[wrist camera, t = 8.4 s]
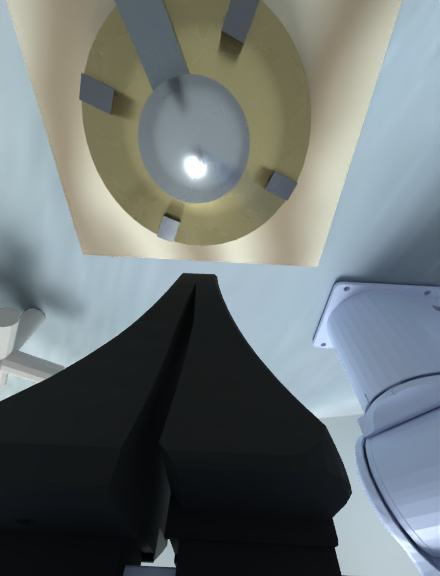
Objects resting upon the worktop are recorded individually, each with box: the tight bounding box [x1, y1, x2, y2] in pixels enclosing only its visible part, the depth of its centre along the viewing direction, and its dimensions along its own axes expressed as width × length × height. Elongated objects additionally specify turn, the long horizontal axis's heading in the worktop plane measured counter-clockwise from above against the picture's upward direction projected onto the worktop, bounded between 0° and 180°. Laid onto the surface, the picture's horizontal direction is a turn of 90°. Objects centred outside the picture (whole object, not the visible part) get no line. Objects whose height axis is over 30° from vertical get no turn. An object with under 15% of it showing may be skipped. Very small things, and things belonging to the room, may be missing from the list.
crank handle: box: [79, 0, 311, 246], centre depth 10 cm, size 16×11×8 cm
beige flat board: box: [6, 0, 402, 267], centre depth 15 cm, size 18×16×2 cm
